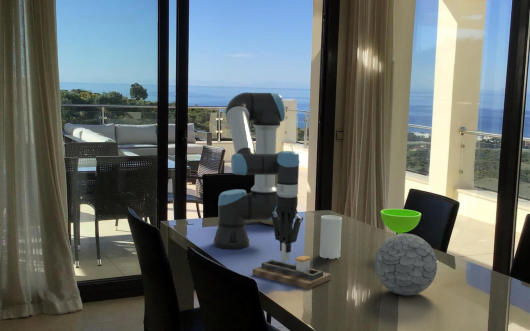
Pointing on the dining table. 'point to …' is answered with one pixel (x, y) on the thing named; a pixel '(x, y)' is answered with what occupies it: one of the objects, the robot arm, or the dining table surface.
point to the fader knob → (303, 264)
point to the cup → (330, 236)
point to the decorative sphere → (406, 264)
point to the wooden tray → (291, 274)
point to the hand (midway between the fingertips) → (285, 260)
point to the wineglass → (400, 219)
